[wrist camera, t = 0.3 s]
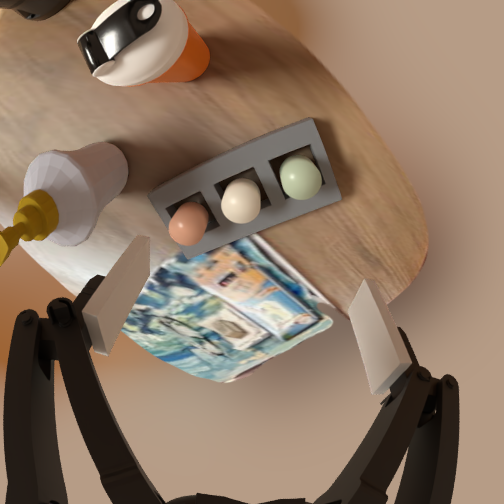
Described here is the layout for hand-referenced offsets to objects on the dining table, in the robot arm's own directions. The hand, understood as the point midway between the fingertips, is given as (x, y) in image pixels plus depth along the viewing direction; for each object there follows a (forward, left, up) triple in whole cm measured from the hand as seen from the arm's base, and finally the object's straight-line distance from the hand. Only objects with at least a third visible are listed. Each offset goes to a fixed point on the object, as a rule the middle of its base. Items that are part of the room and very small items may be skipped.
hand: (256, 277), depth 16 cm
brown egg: (+2, -11, -22) cm, 25 cm away
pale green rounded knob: (+2, +5, -22) cm, 23 cm away
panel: (+2, -3, -25) cm, 26 cm away
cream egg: (+2, -3, -22) cm, 23 cm away
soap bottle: (-11, -21, -26) cm, 35 cm away
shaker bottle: (-19, -2, -26) cm, 32 cm away
